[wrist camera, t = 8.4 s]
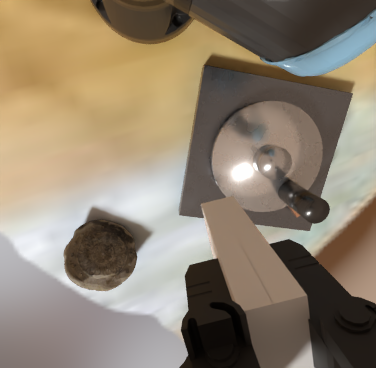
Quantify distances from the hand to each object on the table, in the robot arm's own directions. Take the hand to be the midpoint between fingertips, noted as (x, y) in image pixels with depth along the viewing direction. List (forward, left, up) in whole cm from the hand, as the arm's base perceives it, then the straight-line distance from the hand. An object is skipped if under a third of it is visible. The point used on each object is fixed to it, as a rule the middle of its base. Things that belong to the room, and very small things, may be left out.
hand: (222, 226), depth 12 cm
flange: (+1, +13, -27) cm, 29 cm away
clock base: (0, +12, -29) cm, 32 cm away
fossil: (+19, -10, -30) cm, 37 cm away
